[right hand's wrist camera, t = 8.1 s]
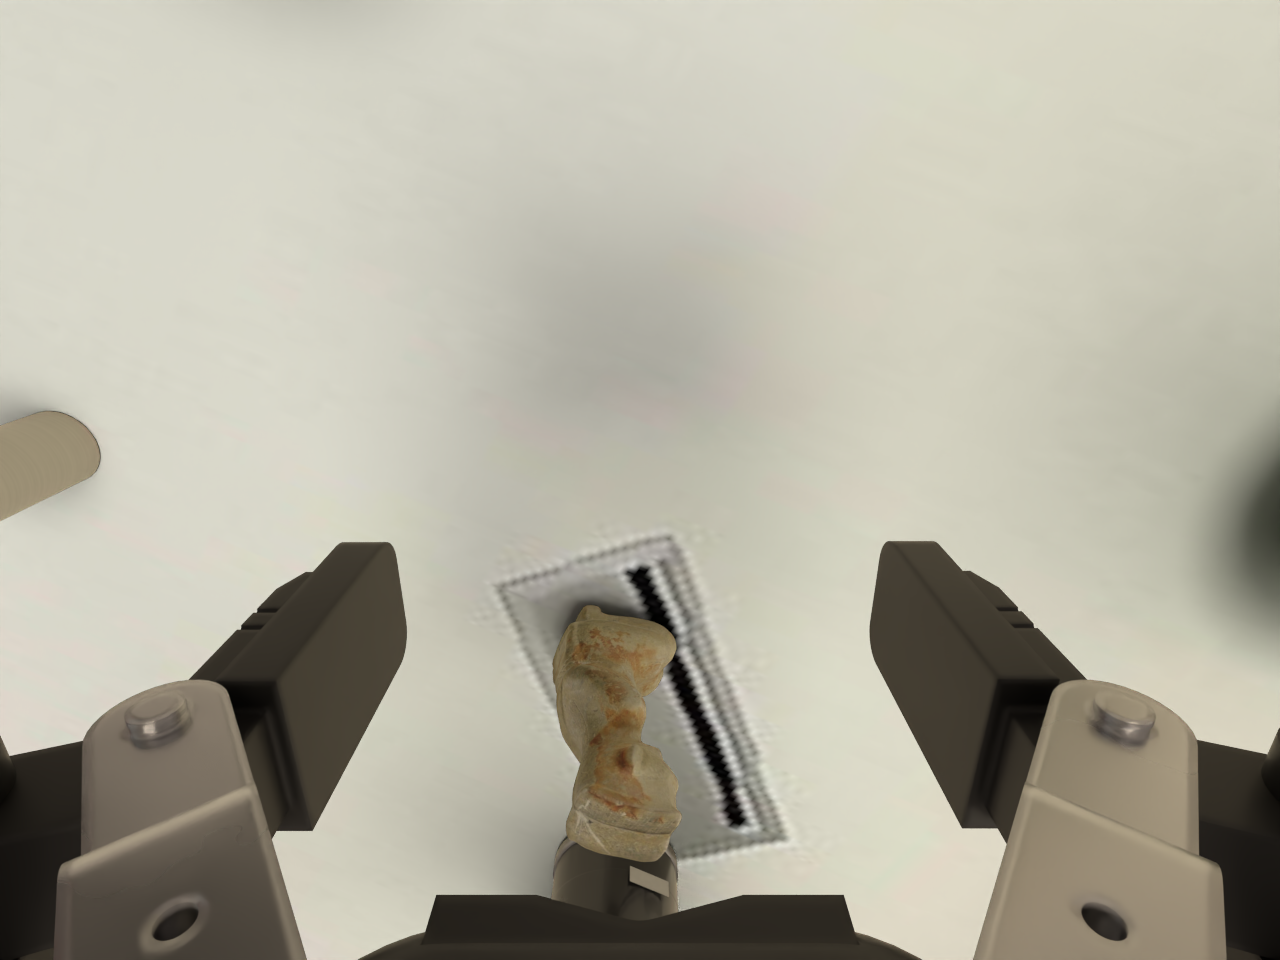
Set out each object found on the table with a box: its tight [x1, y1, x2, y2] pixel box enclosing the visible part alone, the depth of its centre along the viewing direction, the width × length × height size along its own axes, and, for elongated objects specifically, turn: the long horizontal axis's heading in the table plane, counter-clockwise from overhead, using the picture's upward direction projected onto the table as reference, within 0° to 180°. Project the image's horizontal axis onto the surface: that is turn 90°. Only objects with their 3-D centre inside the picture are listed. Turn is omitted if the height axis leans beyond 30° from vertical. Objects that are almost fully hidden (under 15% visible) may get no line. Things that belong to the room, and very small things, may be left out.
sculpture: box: [553, 605, 682, 862], centre depth 37 cm, size 6×7×15 cm
